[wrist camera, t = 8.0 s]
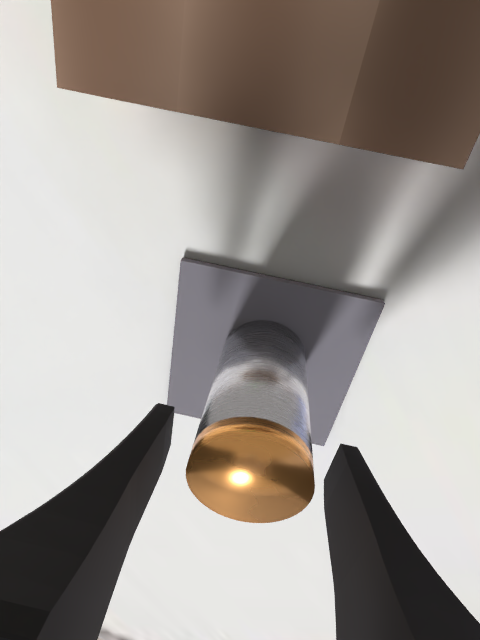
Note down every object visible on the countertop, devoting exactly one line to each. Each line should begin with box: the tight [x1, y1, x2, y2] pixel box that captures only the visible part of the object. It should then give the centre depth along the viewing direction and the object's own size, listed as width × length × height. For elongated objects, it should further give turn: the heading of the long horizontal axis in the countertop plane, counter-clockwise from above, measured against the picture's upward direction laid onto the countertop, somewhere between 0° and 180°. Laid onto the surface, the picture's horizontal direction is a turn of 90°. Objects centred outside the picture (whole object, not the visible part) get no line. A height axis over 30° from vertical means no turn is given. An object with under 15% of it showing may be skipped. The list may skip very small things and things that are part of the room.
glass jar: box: [186, 320, 315, 523], centre depth 14 cm, size 4×4×7 cm
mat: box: [167, 258, 385, 446], centre depth 17 cm, size 9×9×1 cm
